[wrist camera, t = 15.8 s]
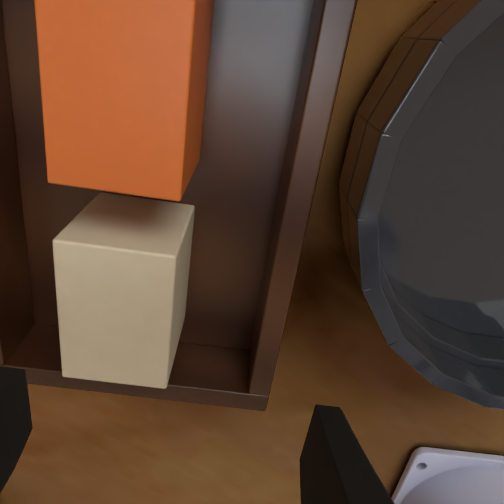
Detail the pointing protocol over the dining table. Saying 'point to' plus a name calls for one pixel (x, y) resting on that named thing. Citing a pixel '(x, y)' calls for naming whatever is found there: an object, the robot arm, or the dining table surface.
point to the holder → (187, 197)
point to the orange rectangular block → (123, 92)
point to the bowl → (435, 199)
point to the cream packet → (123, 289)
